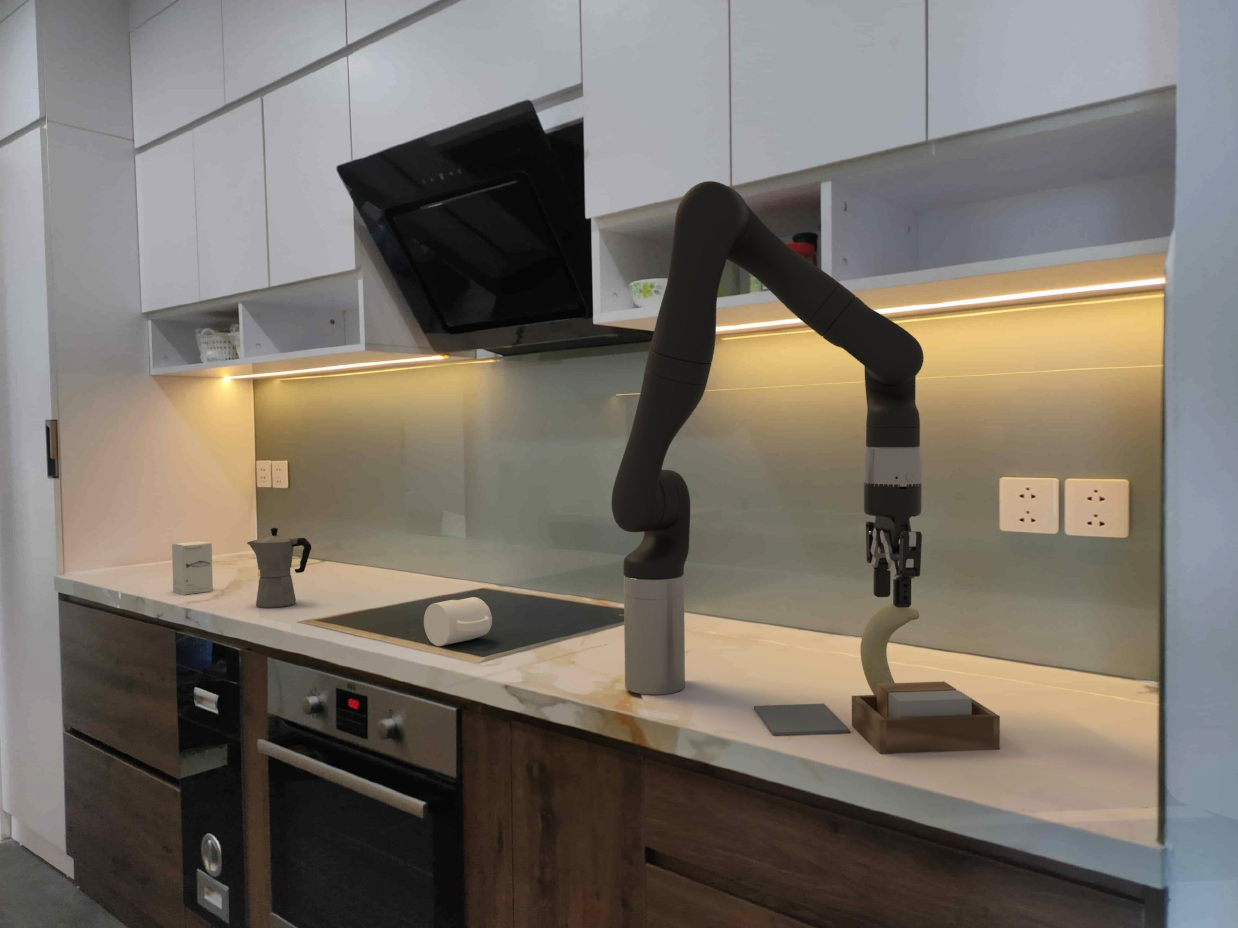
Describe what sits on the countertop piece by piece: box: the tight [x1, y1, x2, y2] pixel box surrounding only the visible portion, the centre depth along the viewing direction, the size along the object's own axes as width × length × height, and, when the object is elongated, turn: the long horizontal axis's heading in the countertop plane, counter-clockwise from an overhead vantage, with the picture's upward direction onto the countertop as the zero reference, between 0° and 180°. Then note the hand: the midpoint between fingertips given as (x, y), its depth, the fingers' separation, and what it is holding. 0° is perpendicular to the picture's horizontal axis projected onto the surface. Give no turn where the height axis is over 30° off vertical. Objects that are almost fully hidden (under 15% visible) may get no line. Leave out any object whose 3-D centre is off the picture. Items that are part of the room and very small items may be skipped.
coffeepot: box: [246, 527, 312, 609], centre depth 204 cm, size 15×9×18 cm, turn 85°
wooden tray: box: [851, 692, 1001, 755], centre depth 109 cm, size 10×15×4 cm
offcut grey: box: [889, 689, 973, 718], centre depth 107 cm, size 4×9×6 cm, turn 94°
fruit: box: [859, 603, 920, 695], centre depth 120 cm, size 7×15×3 cm
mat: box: [753, 702, 851, 737], centre depth 116 cm, size 11×10×1 cm
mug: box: [423, 596, 493, 647], centre depth 164 cm, size 12×9×8 cm
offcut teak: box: [877, 681, 958, 718], centre depth 111 cm, size 4×9×6 cm, turn 94°
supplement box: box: [171, 540, 214, 596], centre depth 222 cm, size 7×7×13 cm
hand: (891, 601), depth 119 cm, fingers open, 6 cm apart
